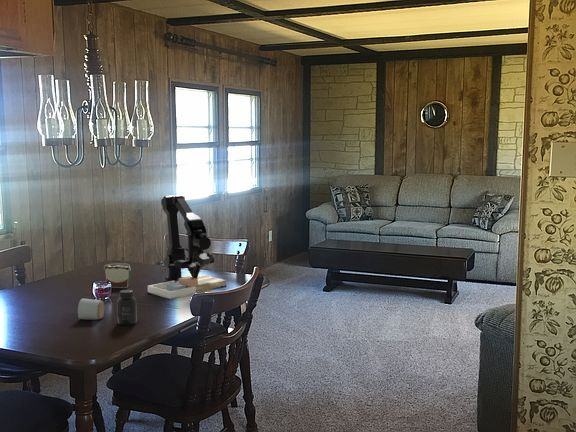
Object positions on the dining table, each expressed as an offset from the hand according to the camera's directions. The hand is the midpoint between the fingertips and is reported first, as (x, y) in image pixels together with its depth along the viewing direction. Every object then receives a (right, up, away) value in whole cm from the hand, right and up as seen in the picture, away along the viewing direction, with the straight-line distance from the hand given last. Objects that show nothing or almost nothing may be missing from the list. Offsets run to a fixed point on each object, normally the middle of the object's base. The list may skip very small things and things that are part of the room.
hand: (195, 280), depth 288 cm
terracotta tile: (-3, -1, -3) cm, 4 cm away
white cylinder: (-32, -10, -46) cm, 57 cm away
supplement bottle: (-17, -10, -52) cm, 56 cm away
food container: (-35, -3, +3) cm, 35 cm away
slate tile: (-7, -4, -7) cm, 11 cm away
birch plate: (+2, -3, +3) cm, 5 cm away
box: (-9, -4, -9) cm, 13 cm away
